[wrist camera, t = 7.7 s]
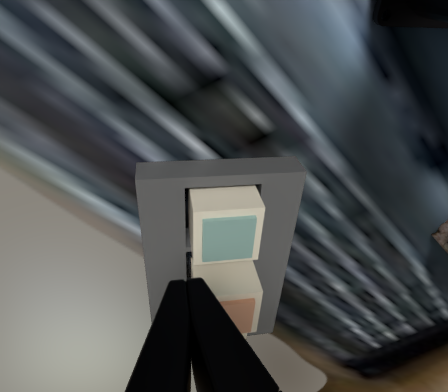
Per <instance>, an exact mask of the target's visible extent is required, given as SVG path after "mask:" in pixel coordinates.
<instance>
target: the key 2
mask: <svg viewBox="0 0 448 392" xmlns="http://www.w3.org/2000/svg"><path fill="white" fill-rule="evenodd" d="M198 277H201V278H203V279H204V281H205V282H206V284H207V285H208V286H209V288H210V289H211V291H212V292H213V294H214V295H215V296H216V298H217V299H218V301H219V302H220V304H221V305H222V306H223V308H224V309H225V311H226V312H227V314H228V315H229V316H230V318H231V319H232V321H233V322H234V324H235V325H236V326H237V328H238V329H239V331H240V332H241V334H244V333H252V332H256V331H257V325H258V319H259V313H260V308H261V302H262V296H263V289H262V286H261V283H260V281H259V278H258V275H257V272H256V269H255V266H254V263H253V260H247V261H237V262H226V263H215V264H204V265H193V259H192V258H191V278H198Z"/></svg>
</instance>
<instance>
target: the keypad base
mask: <svg viewBox="0 0 448 392" xmlns="http://www.w3.org/2000/svg"><path fill="white" fill-rule="evenodd" d="M306 173H307V171H306V170H305V169H304V167H303V166H302V165H301V163H300V162H299V161H298V159H297V158H296V156H291V157H265V158H240V159H215V160H190V161H164V162H139V163H136V175H135V184H136V192H137V201H138V209H139V218H140V227H141V235H142V244H143V252H144V261H145V269H146V278H147V287H148V294H149V304H150V312H151V321H152V322H153V320H154V317H155V315H156V312H157V310H158V307H159V305H160V302H161V300H162V297H163V295H164V293H165V290H166V288H167V285H168V283H169V281H171V280H177V279H184V280H185V281H186V280H187V279H189V278H191V277H187V276H186V252H192V251H191V244H190V236H189V228H185V188H196V187H215V186H234V185H253V184H255V186H256V188H257V190H258V193H259V195H260V197H261V199H262V201H263V203H264V205H265V214H264V220H263V227H262V234H261V241H260V248H259V255H258V260H253V263H254V266H255V269H256V272H257V275H258V278H259V281H260V283H261V286H262V289H263V296H262V302H261V308H260V313H259V319H258V325H257V331H256V332H252V333H247V336H250V335H257V334H265V333H272V332H273V328H274V323H275V319H276V314H277V309H278V305H279V300H280V295H281V291H282V286H283V281H284V277H285V272H286V267H287V263H288V258H289V253H290V248H291V244H292V239H293V234H294V230H295V225H296V220H297V216H298V211H299V206H300V202H301V197H302V192H303V187H304V183H305V178H306Z"/></svg>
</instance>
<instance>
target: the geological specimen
mask: <svg viewBox="0 0 448 392" xmlns="http://www.w3.org/2000/svg"><path fill="white" fill-rule="evenodd" d="M431 235H432V236H433V237H434V238H435V240H436V241H437V242H438V243H439V244H440V245H441V247H442V248H443V249H444V250H445V251H446V252H447V253H448V220H447V221H446V222H445V223H443V224H441V226H440V227H439V228H438V231H437V232H436V233H434V234H431Z"/></svg>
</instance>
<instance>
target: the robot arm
mask: <svg viewBox="0 0 448 392" xmlns="http://www.w3.org/2000/svg"><path fill="white" fill-rule="evenodd" d="M385 10H386V11H387V15H386V17H385V18H384V19H382V14H383V12H384V11H385ZM373 20H374V22H375V24H377V25H381V26H392V27H425V28H448V0H377V2H376V6H375V10H374V14H373ZM191 363H192V369H193V375H194V380H195V385H196V390H197V392H278V391H279V387H278V385H277V384H276V383H275V381H274V379H273V378H272V377H271V375H270V374H269V372H268V371H267V369H266V368H265V367H264V365H263V364H262V362H261V361H260V359H259V358H258V357H257V355H256V354H255V352H254V351H253V349H252V348H251V347H250V345H249V344H248V342H247V341H246V339H245V338H244V336H243V335H242V334H241V332H240V331H239V329H238V328H237V326H236V325H235V324H234V322H233V321H232V319H231V318H230V316H229V315H228V314H227V312H226V311H225V309H224V308H223V306H222V305H221V304H220V302H219V301H218V299H217V298H216V296H215V295H214V294H213V292H212V291H211V289H210V288H209V286H208V285H207V284H206V282H205V281H204V279H203V278H201V277H198V278H189V279H187V280H186V281H185V280H184V279H177V280H171V281H169V283H168V285H167V288H166V290H165V293H164V295H163V297H162V300H161V302H160V305H159V307H158V310H157V312H156V315H155V317H154V320H153V322H152V325H151V328H150V330H149V333H148V335H147V338H146V340H145V343H144V345H143V347H142V350H141V352H140V355H139V357H138V360H137V362H136V365H135V367H134V370H133V372H132V375H131V377H130V380H129V382H128V385H127V387H126V390H125V392H190V391H191ZM279 392H282V391H279Z"/></svg>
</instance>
